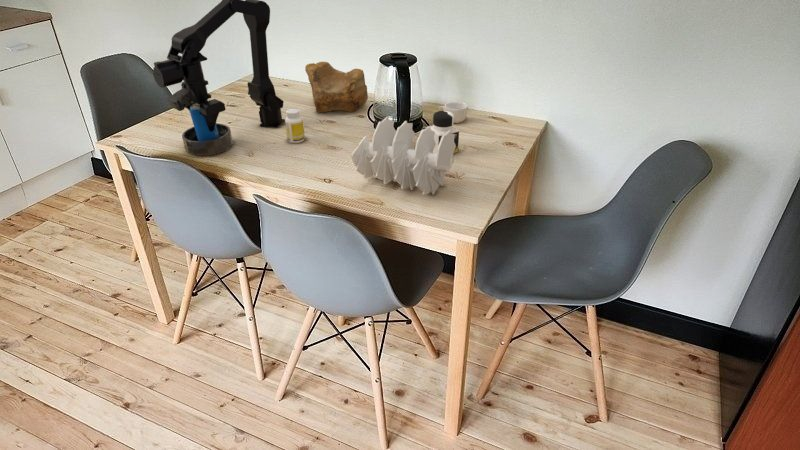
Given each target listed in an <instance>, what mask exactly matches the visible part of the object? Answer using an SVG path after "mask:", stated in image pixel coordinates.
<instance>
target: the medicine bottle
mask: <svg viewBox="0 0 800 450" xmlns="http://www.w3.org/2000/svg"><path fill="white" fill-rule="evenodd" d="M453 121H454V115H453V113H451V112H449V111H444V110H440V111H439V110H438V111H436V112H434V113H433V114H432V125H430V126H431V130H432V131H434V132H435V134H434V141H435V143H436V145H435V148H434V150H433V153H436V154H437V148H438V145H439V143H440V140H441V138H442V135H445V134H446V133H447V131H448V130H451V134H455V137H454V143H455V145H456V148H455V150H454V153H453V154H455V153H458V152H459V143H460V142H459V141H460V140H459V139H460V138H459V137H460V130H459V129H457V128H456V127H455V126H454V123H453Z"/></svg>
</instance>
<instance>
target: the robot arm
mask: <svg viewBox="0 0 800 450" xmlns="http://www.w3.org/2000/svg"><path fill="white" fill-rule="evenodd" d="M236 13H239V14H242V17H243V21H244V22H245V25H246V27H247V28H248V31H249V39H250V40H249V41H250V51H251V65H252V74H253V76H252V79H251V81H247V84H246V85H247V89H248V92H247V95H249V98H250V99H251V101H253V102H254V103H255V105H256V106H259V108H258V109H259V111H258V115H259V122H260V124H259V127H261V128H262V127H263V128H275V129H276V128H277V129H278V128H279V127H280V126H281V125H282V124H283V123H284V122H285V118H283V114H282V108H283V107H284V100H283V99H282V98H281V97H279V96H277V94H276V90H275V85H274V84H273V82H272V80H271V78H270V70H269V58H268V43H267V41H268V40H267V29H268V27H269V25H270V23H271V22H270V21H271V8H270V5H269V4H268V3H267V2H266V1H264V0H221V1H220V2H219V3H218V4H216V5H215V6H214V7H213V8H212V9H211V10H210V11H208V12H207V13H206V14H205V15H204V16H202V18H201V19H199V20H198V21H197V22H196V23H195V24H192V25H191V26H187V27H185V28H183V29H181V30H179V31H177V32H176V33H174V34H173V35H172V36H171V44H170V48H169V52H168V53H167V56H166V60H161V61H155V62H153V66H154V67H153V69H152V70H153V71H152V72H153V73H152V76H153V78H154V81H155V83H156V84H157V85H158V87H159V88H161V89H163V88H167V87H171V86H174V85H177V84H180V86H181V89H179V90H177V91H176V92H174V93H173V94H172V95H170V96H169V97H168V98H167V101H168V102H169V105H170V106H172V108H173V109H174V110H176V111H178V112H182V111H184V110H185V109H187V110H188V111H189V112H190V109H191V108H190V106H191V105H193V104H196V105H200V107H199V108H200V111H201V112H200V113H199V114H201V115H202V116H204V117H205V120H206V123H207V126H208V128H209V130H210V132H212V131H214V128H215V124H216V123H217V120H218V117H219V115H220V113H221V112H226V105H225V102H223V101H221V100H218V99H217V98H212V94H211V93H209V92H208V87H207V85H209V81H208V80H206V79H205V76H204V70H203V67H202V62H205V61H207V60H208V57H207V56H204V55H203V54H202V53H201V51H202V50H203V48H204V47H205V45H206V42H207V40H208V39H209V37H211V35H213V34H214V33H215V32H216V31H217V30H218V29H219V28H221V27H222V26H223V25H224V24H225V23H226V22H227V21H228V20H229V19H230V18H231V17H233V16H234V15H235V14H236ZM180 54H181V55H180Z"/></svg>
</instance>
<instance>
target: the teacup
mask: <svg viewBox="0 0 800 450" xmlns="http://www.w3.org/2000/svg"><path fill="white" fill-rule="evenodd" d="M441 108H442V109H443V111H449V112H451V113H453V115H454V121H453V124H459V123H462V122H463V121H464V120H465V119H467V116H468V109H469V105H468V104H467V103H466V102H463V101H449V102H446V103H445V104H444V105H441V106H439V107H438V111H441Z"/></svg>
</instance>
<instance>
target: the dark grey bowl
mask: <svg viewBox="0 0 800 450" xmlns="http://www.w3.org/2000/svg"><path fill="white" fill-rule="evenodd" d="M216 125H217V129H218V132H219V136H220V138H217V139H214V140H209V141H198V138H197V135H196V131H195V128H194V126H191V127H189V128H188V129H186V130H184V131H183V133H182V134H181V137H182V141H183V145H184V149H185V152H187V153H188V154H190V155H193V156H212V155H216V154H219V153H222V152H225V151H227V150H228V149H230V148H231V147H232V146H233V144H234V143H233V142H234V139H233V136H232V130H231V128H230V126H228V125H227V124H224V123H217V122H216Z"/></svg>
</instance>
